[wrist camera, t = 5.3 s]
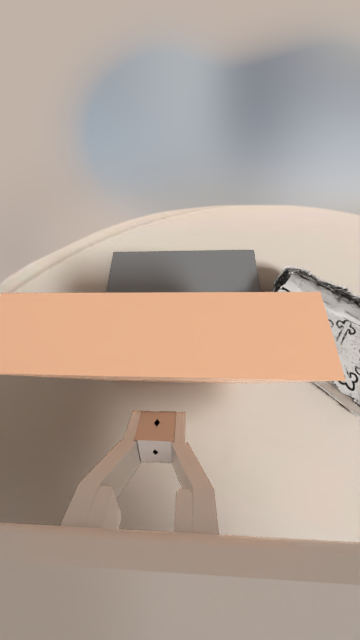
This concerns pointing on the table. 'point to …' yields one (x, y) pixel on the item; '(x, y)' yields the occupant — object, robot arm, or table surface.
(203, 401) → the table surface
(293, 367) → the orange block
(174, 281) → the mat
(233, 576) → the robot arm
